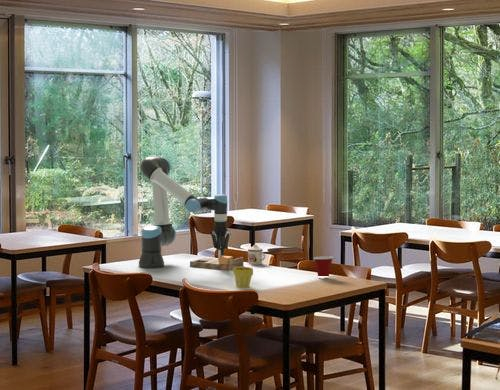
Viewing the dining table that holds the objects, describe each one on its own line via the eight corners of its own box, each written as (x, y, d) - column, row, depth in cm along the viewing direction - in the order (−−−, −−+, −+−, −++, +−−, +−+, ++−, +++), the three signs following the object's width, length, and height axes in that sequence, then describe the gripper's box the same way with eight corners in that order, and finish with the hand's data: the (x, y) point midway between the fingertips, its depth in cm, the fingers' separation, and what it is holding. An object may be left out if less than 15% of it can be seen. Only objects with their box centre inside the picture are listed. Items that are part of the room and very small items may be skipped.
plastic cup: (319, 275, 518) (320, 254, 517) (336, 277, 512) (336, 256, 511) (309, 278, 509) (309, 256, 508) (326, 280, 503) (326, 258, 502)
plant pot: (255, 288, 478) (255, 269, 477) (236, 289, 475) (236, 270, 474) (249, 284, 488) (249, 266, 487) (230, 285, 485) (231, 267, 484)
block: (218, 263, 537) (218, 257, 537) (223, 262, 542) (223, 255, 542) (227, 264, 534) (227, 257, 534) (232, 263, 540) (232, 256, 539)
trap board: (189, 266, 545) (189, 257, 545) (204, 262, 560) (204, 253, 560) (229, 270, 533) (229, 260, 533) (243, 266, 548) (243, 257, 548)
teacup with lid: (244, 263, 558) (244, 244, 557) (253, 262, 565) (254, 243, 564) (260, 265, 550) (260, 246, 549) (269, 264, 557) (269, 245, 556)
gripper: (233, 220, 539) (233, 260, 541) (214, 219, 545) (213, 258, 546) (227, 222, 532) (226, 262, 534) (207, 220, 538) (207, 260, 540)
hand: (220, 260), depth 540 cm, fingers closed
